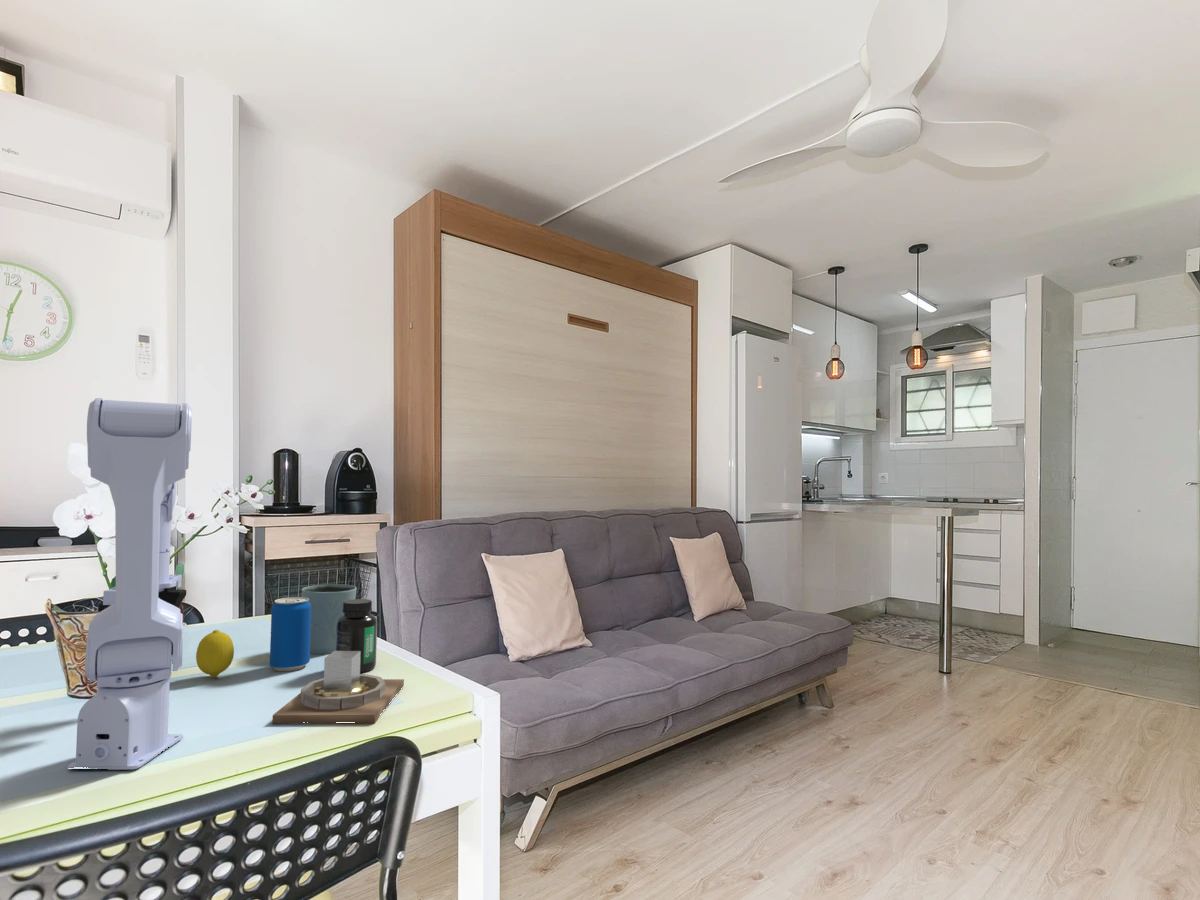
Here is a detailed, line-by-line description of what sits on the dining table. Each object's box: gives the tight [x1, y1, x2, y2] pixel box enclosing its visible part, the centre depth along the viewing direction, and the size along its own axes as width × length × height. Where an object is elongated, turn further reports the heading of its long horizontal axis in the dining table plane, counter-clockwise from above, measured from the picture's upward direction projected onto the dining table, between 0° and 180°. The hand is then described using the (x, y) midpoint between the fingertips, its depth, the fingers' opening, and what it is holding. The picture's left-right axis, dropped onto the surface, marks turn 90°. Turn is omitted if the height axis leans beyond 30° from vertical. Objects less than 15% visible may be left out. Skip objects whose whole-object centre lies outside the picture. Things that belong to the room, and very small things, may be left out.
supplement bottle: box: [336, 598, 378, 674], centre depth 117 cm, size 7×7×12 cm
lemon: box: [195, 629, 235, 678], centre depth 111 cm, size 6×6×8 cm
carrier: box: [271, 673, 405, 725], centre depth 99 cm, size 16×14×3 cm
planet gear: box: [314, 651, 369, 697], centre depth 99 cm, size 8×8×6 cm
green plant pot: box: [301, 583, 357, 655], centre depth 131 cm, size 10×10×12 cm
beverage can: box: [269, 596, 311, 672], centre depth 118 cm, size 6×6×12 cm
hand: (143, 645), depth 95 cm, fingers open, 7 cm apart
